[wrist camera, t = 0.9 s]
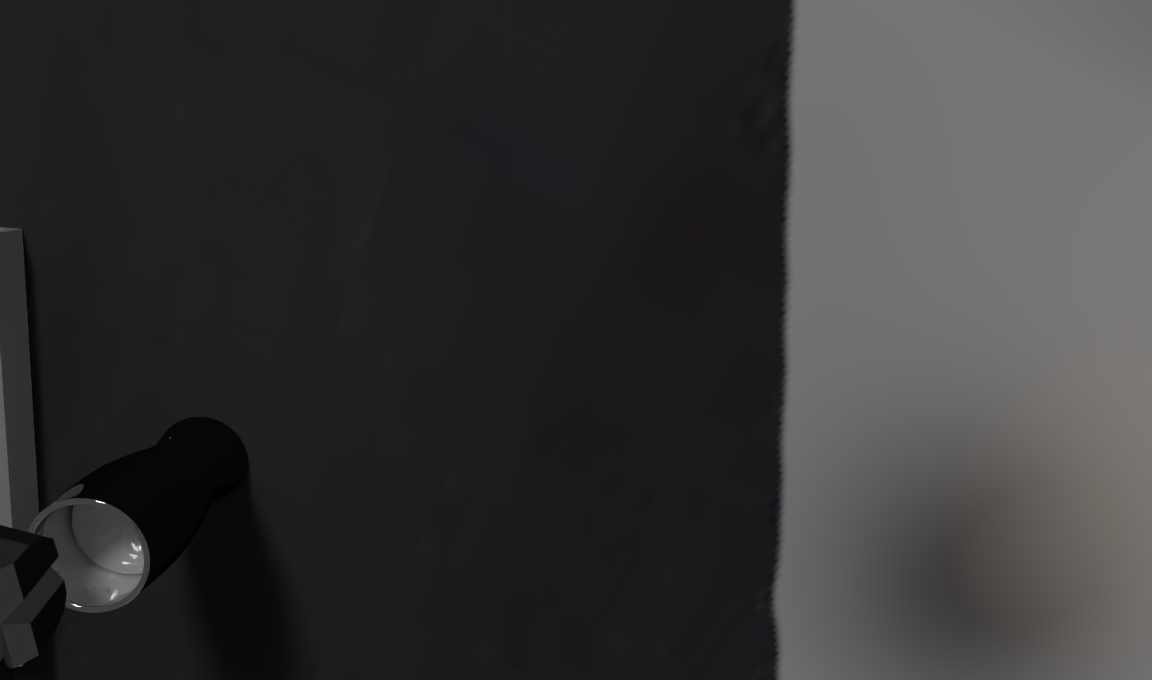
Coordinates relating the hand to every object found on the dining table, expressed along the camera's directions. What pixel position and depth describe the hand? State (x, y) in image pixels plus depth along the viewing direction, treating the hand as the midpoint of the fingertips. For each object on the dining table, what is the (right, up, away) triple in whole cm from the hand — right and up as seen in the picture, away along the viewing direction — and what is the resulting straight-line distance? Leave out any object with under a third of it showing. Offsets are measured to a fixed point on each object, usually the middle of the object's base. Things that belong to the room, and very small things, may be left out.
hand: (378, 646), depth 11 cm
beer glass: (-23, -4, +50) cm, 55 cm away
